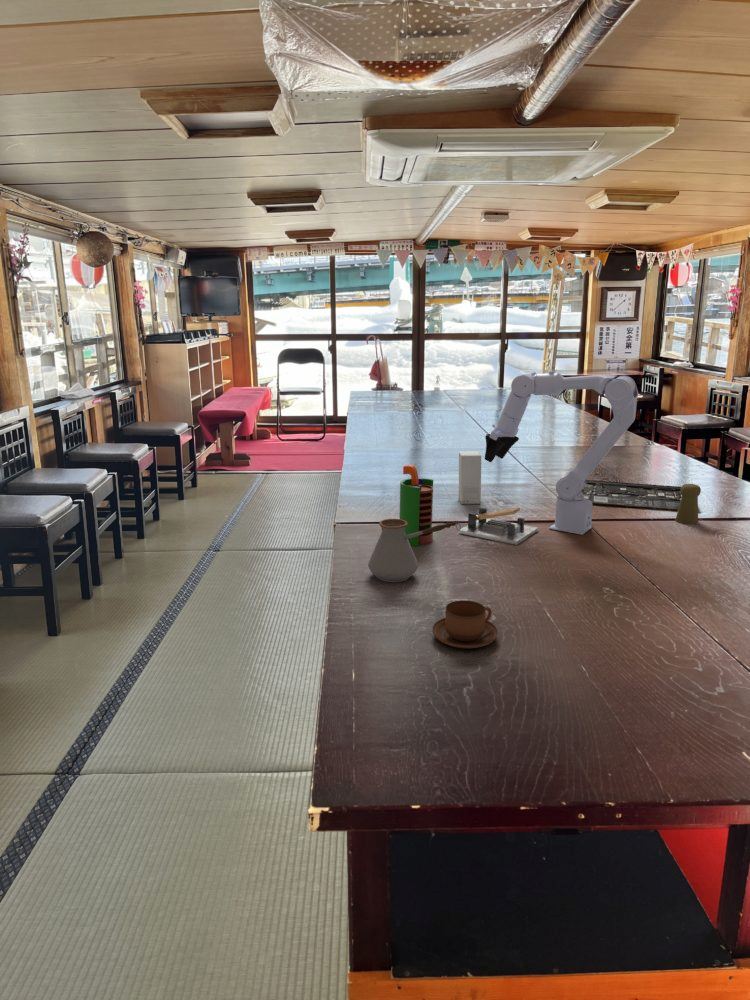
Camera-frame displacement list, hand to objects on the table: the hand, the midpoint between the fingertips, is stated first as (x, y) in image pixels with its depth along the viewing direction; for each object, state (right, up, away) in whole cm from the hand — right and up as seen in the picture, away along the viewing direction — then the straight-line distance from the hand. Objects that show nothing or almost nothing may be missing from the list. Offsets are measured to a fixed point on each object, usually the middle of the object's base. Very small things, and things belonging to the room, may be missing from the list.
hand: (493, 458), depth 195 cm
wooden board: (-1, -16, -9) cm, 19 cm away
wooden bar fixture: (0, -21, -9) cm, 22 cm away
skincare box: (-4, -12, +22) cm, 26 cm away
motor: (-23, -23, -14) cm, 35 cm away
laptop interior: (+51, -12, +26) cm, 58 cm away
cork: (+55, -18, 0) cm, 58 cm away
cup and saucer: (-17, -38, -69) cm, 80 cm away
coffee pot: (-25, -30, -41) cm, 57 cm away
